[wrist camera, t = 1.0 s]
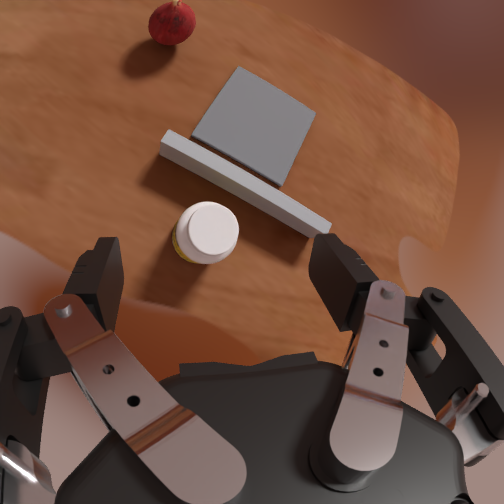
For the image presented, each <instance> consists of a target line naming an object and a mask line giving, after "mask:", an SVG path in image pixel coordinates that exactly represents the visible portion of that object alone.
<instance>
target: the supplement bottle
mask: <svg viewBox="0 0 504 504" xmlns="http://www.w3.org/2000/svg"><path fill="white" fill-rule="evenodd" d="M238 233H239V226H238V222H237V219H236V217H235V216H234V214H233V213H232V212H231V211H230V210H229V209H228V208H226V207H224V206H222V205H220V204H218V203H215V202H200V203H197V204H194V205H192V206H191V207H189V208H188V209H187V210H185V211H184V212H183V214H182V215H181V216H180V218H179V219H178V221H177V222H176V224H175V226H174V229H173V232H172V243H173V246H174V249H175V251H176V252H177V253H178V255H179V256H180V257H182V258H183V259H184V260H186V261H189V262H192V263H199V264H212V263H216V262H219V261H221V260H223V259H224V258H226V257H227V256H228V255H229V254H230V253H231V252H232V250H233V249H234V247H235V245H236V242H237V238H238Z"/></svg>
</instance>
